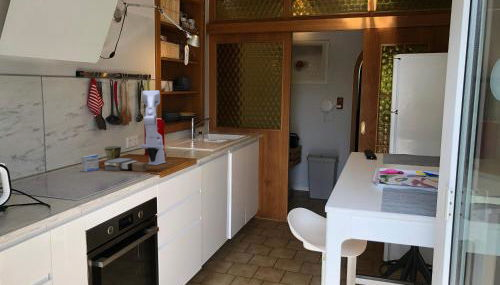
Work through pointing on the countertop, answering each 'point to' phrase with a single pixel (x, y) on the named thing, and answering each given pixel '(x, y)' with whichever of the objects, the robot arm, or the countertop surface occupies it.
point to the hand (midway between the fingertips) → (152, 161)
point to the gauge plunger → (126, 164)
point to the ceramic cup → (112, 152)
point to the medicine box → (90, 163)
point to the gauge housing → (112, 163)
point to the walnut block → (140, 166)
